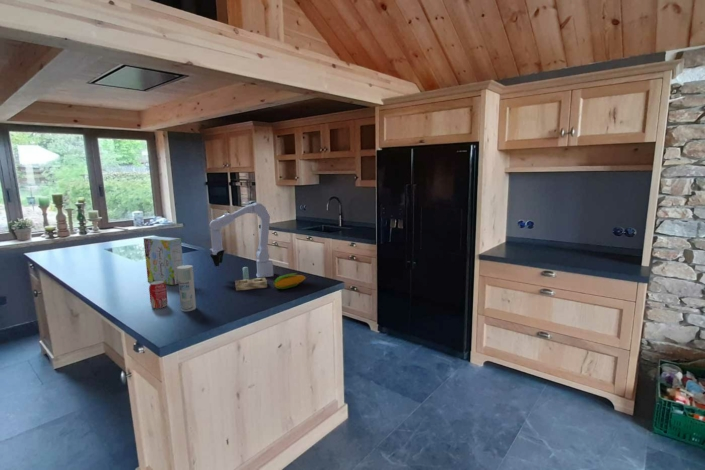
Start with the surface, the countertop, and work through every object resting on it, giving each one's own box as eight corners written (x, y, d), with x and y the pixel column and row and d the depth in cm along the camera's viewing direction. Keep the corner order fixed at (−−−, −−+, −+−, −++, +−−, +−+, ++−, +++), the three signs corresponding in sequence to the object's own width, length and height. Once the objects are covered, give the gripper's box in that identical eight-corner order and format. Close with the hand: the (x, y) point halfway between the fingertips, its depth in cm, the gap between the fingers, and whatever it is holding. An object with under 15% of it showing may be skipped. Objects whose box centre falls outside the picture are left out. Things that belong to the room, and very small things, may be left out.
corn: (270, 275, 198) (301, 268, 211) (270, 289, 199) (300, 281, 213) (277, 279, 192) (308, 271, 206) (277, 293, 194) (308, 284, 208)
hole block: (265, 283, 209) (265, 277, 209) (267, 287, 202) (266, 281, 201) (235, 286, 204) (235, 280, 203) (236, 291, 196) (235, 284, 196)
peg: (248, 282, 211) (247, 266, 210) (249, 283, 209) (248, 267, 207) (243, 282, 210) (242, 267, 209) (243, 284, 208) (242, 268, 206)
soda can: (155, 304, 178) (152, 280, 176) (170, 303, 178) (168, 279, 176) (148, 309, 171) (145, 284, 169) (164, 309, 171) (161, 284, 169)
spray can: (198, 306, 175) (194, 264, 171) (193, 311, 168) (189, 268, 165) (184, 306, 175) (180, 265, 171) (178, 311, 168) (174, 268, 165)
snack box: (186, 282, 214) (182, 237, 210) (173, 286, 206) (168, 240, 202) (159, 277, 223) (155, 235, 219) (146, 281, 215) (141, 237, 211)
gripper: (212, 239, 218) (214, 261, 220) (206, 243, 203) (208, 267, 206) (225, 238, 218) (226, 261, 221) (219, 243, 204) (221, 267, 207)
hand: (218, 264), depth 213 cm, fingers open, 7 cm apart
